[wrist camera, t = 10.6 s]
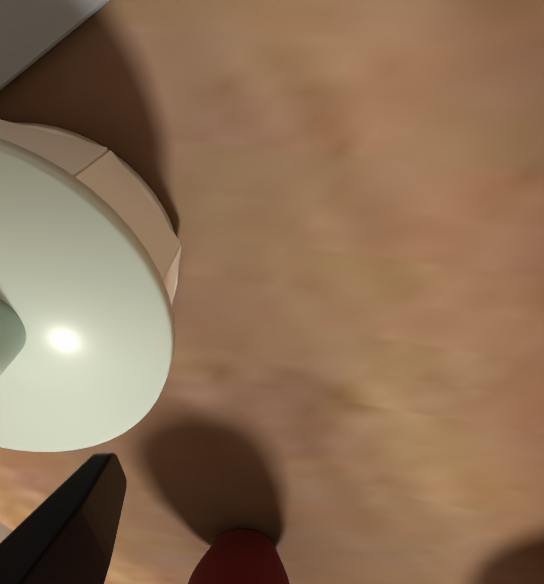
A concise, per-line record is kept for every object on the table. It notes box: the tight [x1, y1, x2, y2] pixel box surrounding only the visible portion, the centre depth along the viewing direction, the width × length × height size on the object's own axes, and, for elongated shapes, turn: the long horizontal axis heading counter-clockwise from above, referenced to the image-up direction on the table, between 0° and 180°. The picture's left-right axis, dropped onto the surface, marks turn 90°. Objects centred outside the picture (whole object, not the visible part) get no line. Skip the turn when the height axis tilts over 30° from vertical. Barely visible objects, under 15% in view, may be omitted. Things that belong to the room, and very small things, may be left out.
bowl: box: [0, 119, 181, 307], centre depth 19 cm, size 11×11×5 cm
